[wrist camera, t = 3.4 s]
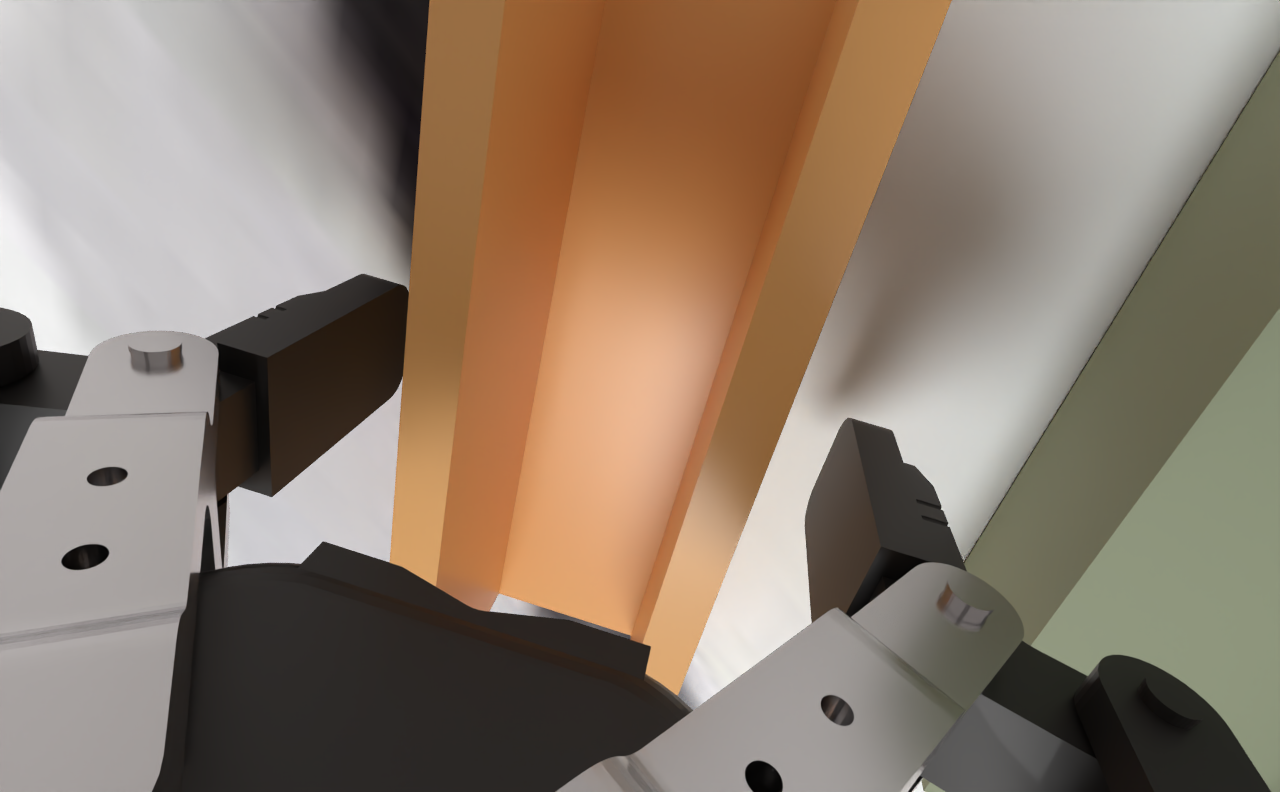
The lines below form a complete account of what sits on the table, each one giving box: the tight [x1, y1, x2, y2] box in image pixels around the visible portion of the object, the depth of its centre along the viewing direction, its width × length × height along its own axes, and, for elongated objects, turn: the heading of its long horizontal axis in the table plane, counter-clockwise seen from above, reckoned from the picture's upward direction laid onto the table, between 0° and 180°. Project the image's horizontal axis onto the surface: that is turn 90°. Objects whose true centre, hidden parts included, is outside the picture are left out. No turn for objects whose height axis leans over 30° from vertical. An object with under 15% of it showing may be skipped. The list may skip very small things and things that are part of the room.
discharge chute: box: [390, 0, 952, 696], centre depth 11 cm, size 14×5×5 cm, turn 167°
